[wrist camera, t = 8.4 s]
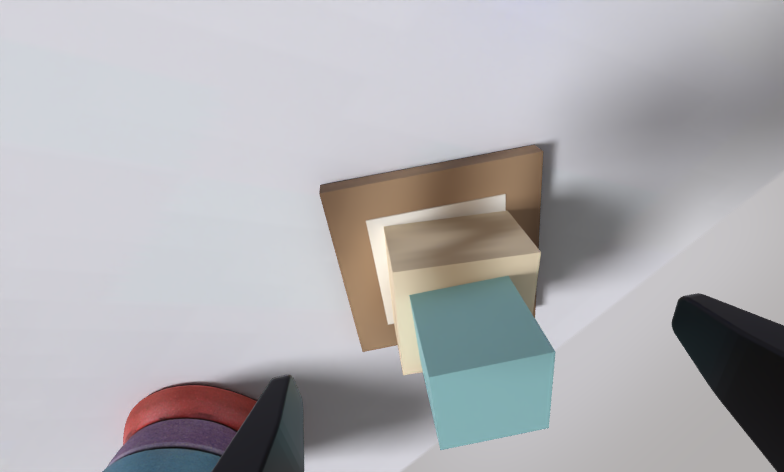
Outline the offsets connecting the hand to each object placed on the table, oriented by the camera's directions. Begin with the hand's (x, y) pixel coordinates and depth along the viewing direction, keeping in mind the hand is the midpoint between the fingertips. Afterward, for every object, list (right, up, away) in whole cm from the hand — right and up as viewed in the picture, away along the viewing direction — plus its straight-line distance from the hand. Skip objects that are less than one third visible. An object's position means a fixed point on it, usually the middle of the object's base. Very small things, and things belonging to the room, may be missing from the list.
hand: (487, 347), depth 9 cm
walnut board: (0, +1, +14) cm, 14 cm away
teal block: (+1, -2, +10) cm, 10 cm away
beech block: (+1, +1, +13) cm, 13 cm away
